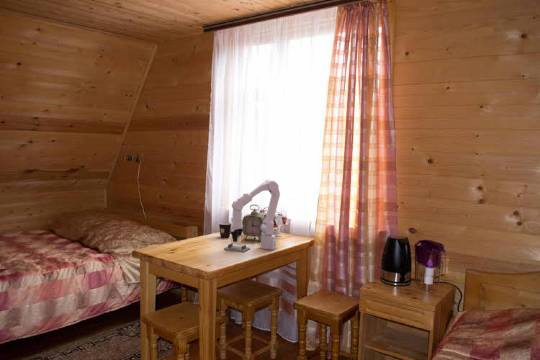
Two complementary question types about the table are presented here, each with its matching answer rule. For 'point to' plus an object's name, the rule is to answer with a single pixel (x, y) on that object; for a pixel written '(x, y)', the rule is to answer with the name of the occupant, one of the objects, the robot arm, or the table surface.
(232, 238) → the connector plug
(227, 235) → the coffee mug
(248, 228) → the tabletop clock
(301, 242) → the table surface
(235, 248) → the board
